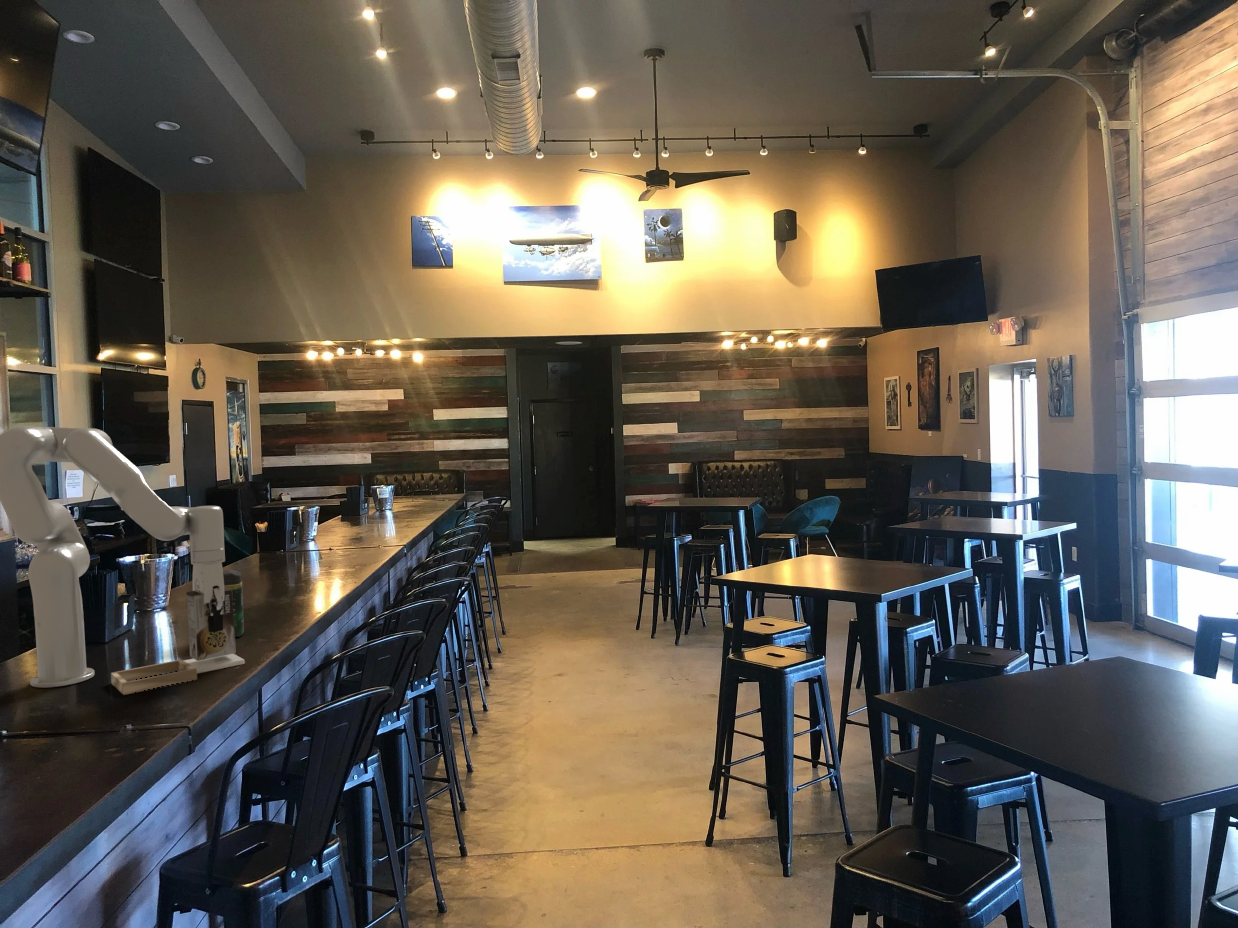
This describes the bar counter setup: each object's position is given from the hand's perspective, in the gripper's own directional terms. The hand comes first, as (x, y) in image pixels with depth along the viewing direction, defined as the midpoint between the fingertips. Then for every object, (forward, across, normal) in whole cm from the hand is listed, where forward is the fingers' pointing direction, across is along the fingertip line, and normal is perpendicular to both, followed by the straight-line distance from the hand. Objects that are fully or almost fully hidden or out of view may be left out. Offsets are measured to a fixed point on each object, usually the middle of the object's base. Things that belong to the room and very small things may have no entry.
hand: (211, 628), depth 209 cm
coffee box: (+7, 0, 0) cm, 7 cm away
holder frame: (+9, +5, -14) cm, 18 cm away
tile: (+9, 0, 0) cm, 9 cm away
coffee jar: (+9, -28, +13) cm, 32 cm away
